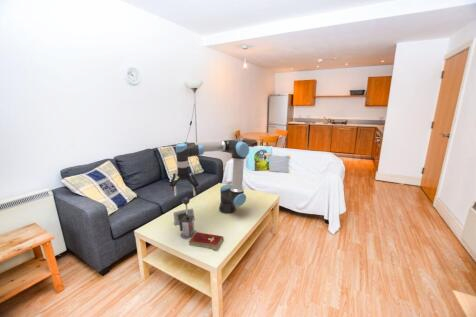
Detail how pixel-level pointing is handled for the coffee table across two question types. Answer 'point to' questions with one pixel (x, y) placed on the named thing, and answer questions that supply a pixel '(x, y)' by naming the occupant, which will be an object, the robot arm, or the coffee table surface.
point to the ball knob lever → (186, 201)
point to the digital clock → (182, 215)
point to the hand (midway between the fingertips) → (185, 195)
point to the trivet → (186, 237)
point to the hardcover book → (206, 240)
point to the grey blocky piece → (187, 226)
